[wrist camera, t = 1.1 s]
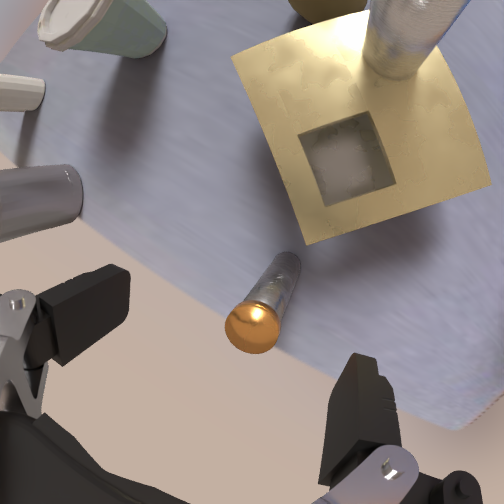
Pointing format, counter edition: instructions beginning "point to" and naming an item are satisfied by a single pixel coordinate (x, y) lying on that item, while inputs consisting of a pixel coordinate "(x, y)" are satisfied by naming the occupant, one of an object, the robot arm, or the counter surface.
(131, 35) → the disposable coffee cup
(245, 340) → the copper-capped metal rod
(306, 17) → the squeeze bottle
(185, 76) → the counter surface
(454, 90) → the tan and silver stand
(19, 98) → the paper towel roll
